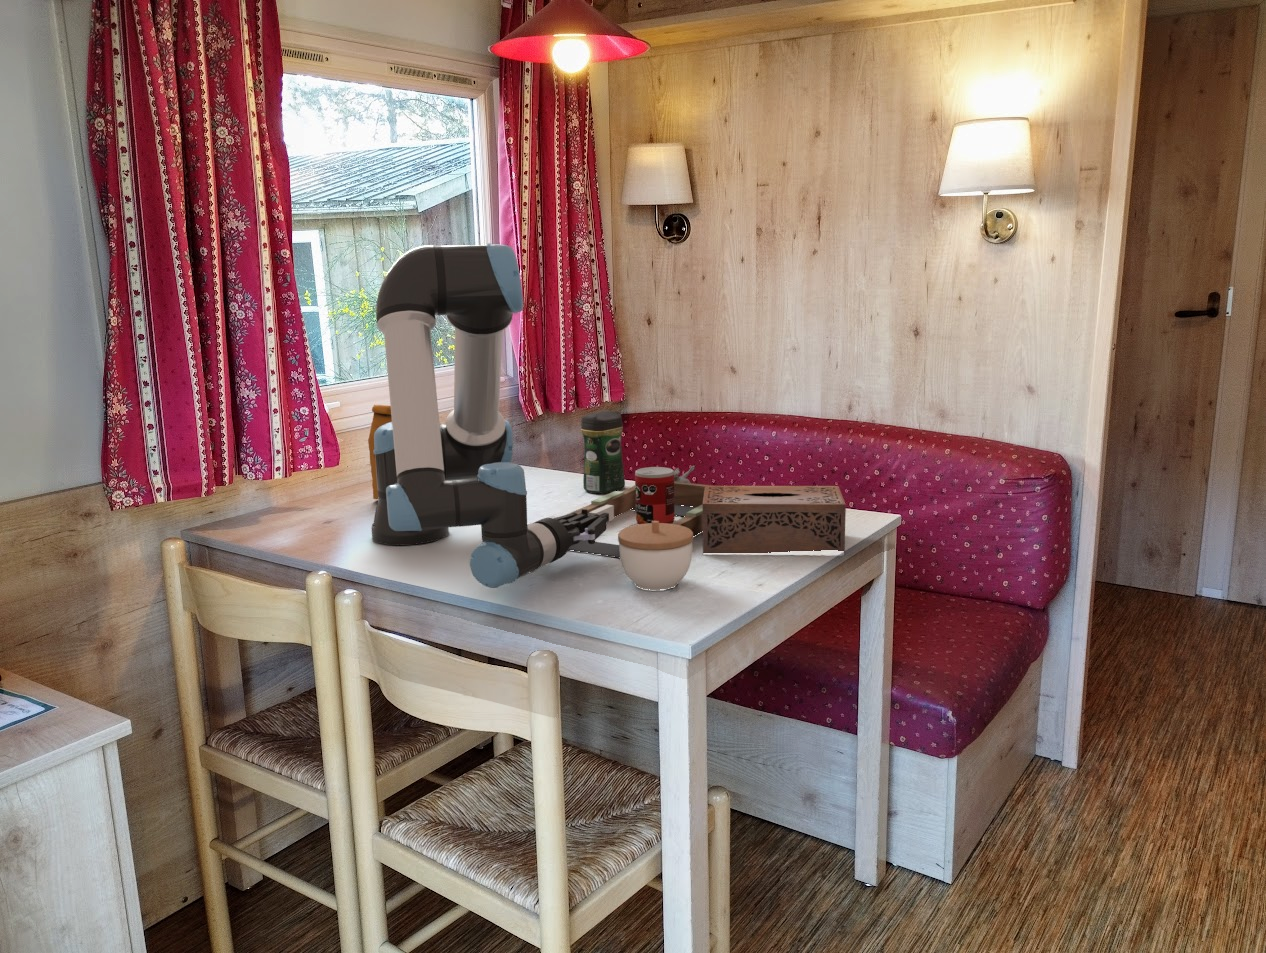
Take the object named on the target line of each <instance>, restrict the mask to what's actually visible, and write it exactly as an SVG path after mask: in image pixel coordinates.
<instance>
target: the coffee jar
mask: <svg viewBox="0 0 1266 953" xmlns="http://www.w3.org/2000/svg"><path fill="white" fill-rule="evenodd" d="M580 427H581V429H580V430H581V434H582V437H583V442H584V443H583V444H584V446H583V447H584V459H583V460H584V463H583V465H584V466H583V484H582V485H583V489H584V491H586V492H587V491H588V493H589V492H592V493H591V494H594V493H595V494H609V493H608V492H610V493H612V492H614V491H616V490H617V491H619V490H620V491H621V489H624V488H625V486H626V480H625V472H624V471H625V470H624V469H625V468H624V464H623V452H622V451H623V450H622V433H623V429H624V427H623V418H622V415H621V414H620V412H619V411H615V410H614V411H613V410H602V411H597V412H593V413H588V414H584V415H583V416H582V417H581V425H580Z"/></svg>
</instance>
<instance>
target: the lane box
mask: <svg viewBox="0 0 1266 953" xmlns="http://www.w3.org/2000/svg"><path fill="white" fill-rule="evenodd" d="M705 486H713V485H711V484H701V483H693V482H692V483H691V482H690V483H684V482H674V505H684V506H693V507H696V508H694V509H692V510H691V511H689V512H687V513H686V516H685V517H680V518H679V519H677V520H676V521H675V520H674V522H673V523H671V524H676V525H681V526H684V527H687V528H689V529H690V530H691V531H692V532H693V536H695V535H697V534H698V533H700V532H702V531H703V497H704V489H705ZM605 505H614V518H616V517H618V516H620V515H622V514H621V513H623V514H625V513H627V512H629V511H631V510H630V509H632V508H635V507H636V495H635V485H633V486H630V487H628V488H626V489H624V490H620V491H619V490H617V491H613V492H610V493H606V494H605V495H603V496H600V497H598V498H596V499H595V498H594V499H593V500H591V502H590V504H588V505H586V506H583V507H581V508H579V509H576V510H574V511H571V512H569V513H568V514H571V513H578V515H579V514H582V509H587V510H588V513H589V512H591V511H593V510H596V509H598V508H600V507H603V506H605ZM628 510H629V511H628ZM626 511H627V512H626ZM624 512H625V513H624ZM619 514H620V515H619ZM617 515H618V516H617ZM615 516H616V517H615Z"/></svg>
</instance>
